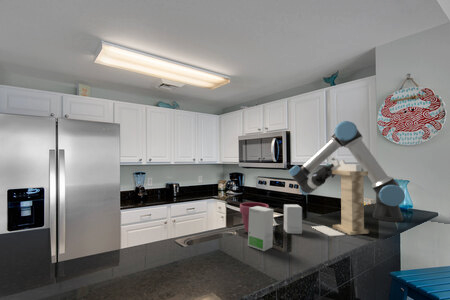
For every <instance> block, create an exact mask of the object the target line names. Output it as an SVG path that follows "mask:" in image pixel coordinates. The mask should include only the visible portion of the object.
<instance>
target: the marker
mask: <svg viewBox="0 0 450 300" xmlns="http://www.w3.org/2000/svg"><path fill="white" fill-rule="evenodd" d="M330 164H331V163H326V167H327V166H329V165H330ZM330 170H331V169H330ZM333 170H343V171H362V167H361V165H359V164H352V163H351V164H350V163H349V164H348V163H347V164H346V163H345V164H339V165H338V166H337V167H335V168H334V169H333Z"/></svg>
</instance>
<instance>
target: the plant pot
mask: <svg viewBox="0 0 450 300" xmlns="http://www.w3.org/2000/svg"><path fill="white" fill-rule="evenodd" d="M255 206H260V207H266V208H269V207H270V206H269V204H268V203H267V204H266V203H263V202H251V201H250V202H248V201H247V202H242V203H240V204H239V212H240V214H241V219H242V222H243V223H242V224H243V226H244V227H243V228H244V231H245V232H247V233H248V228H249V208H251V207H255ZM269 209H270V208H269Z"/></svg>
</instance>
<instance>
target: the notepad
mask: <svg viewBox="0 0 450 300" xmlns="http://www.w3.org/2000/svg"><path fill="white" fill-rule="evenodd" d="M311 227H312V228H311V229H313V228H314V229H313V230H315V229H316V231H318V232H320V233H323V234H325V235H326V236H328V237H340V236H346V233H344V232H341V231H339V230H336V229H334V228H332V227H328V226H325V225H316V226H311Z"/></svg>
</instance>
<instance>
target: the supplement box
mask: <svg viewBox="0 0 450 300" xmlns="http://www.w3.org/2000/svg"><path fill="white" fill-rule="evenodd" d="M283 230H284V231H285V232H286V234H295V235H296V234H298V235H299V234H302V233H303V207H302V206H300V205H299V204H283Z"/></svg>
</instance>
